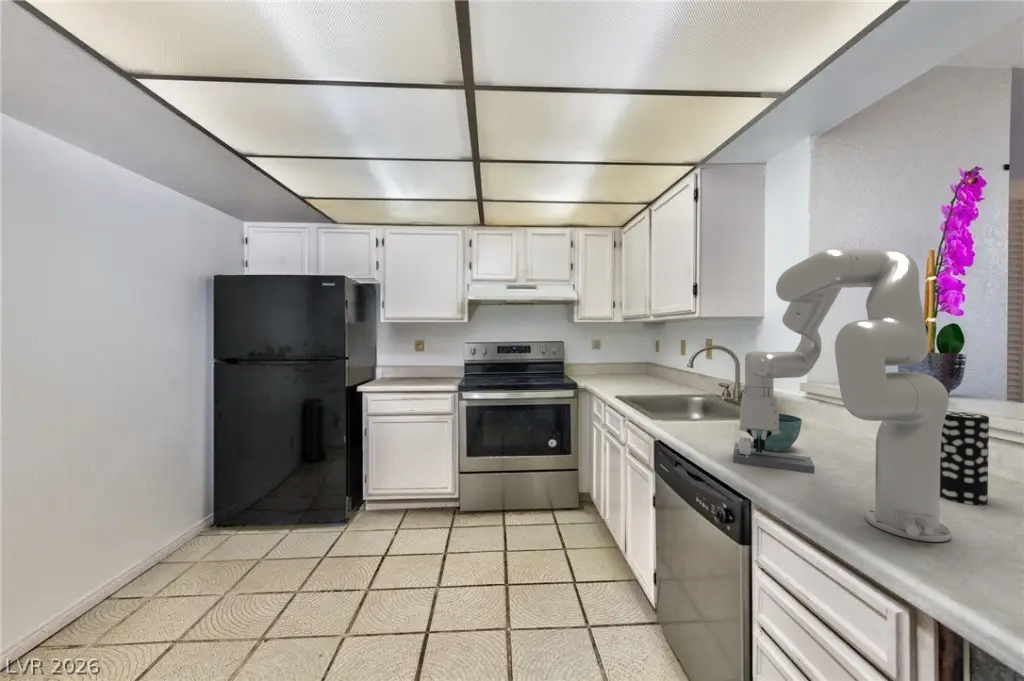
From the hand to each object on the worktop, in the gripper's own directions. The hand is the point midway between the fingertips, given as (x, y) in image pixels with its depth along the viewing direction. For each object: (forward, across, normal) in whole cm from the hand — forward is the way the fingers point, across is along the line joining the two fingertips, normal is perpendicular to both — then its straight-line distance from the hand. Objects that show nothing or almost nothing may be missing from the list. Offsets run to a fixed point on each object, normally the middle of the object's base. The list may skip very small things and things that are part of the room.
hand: (759, 451), depth 127 cm
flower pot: (+3, +4, +19) cm, 20 cm away
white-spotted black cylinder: (+4, +41, -8) cm, 42 cm away
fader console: (+3, +3, 0) cm, 5 cm away
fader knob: (+1, -4, 0) cm, 4 cm away
